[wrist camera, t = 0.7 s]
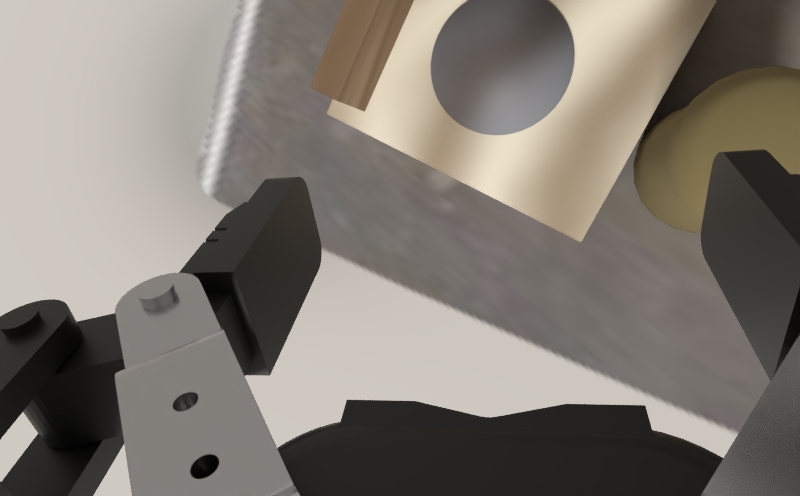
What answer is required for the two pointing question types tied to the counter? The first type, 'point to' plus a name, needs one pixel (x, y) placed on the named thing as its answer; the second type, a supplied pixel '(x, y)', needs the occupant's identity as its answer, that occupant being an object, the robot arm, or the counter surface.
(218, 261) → the robot arm
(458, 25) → the wooden stand base
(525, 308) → the counter surface
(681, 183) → the cork
